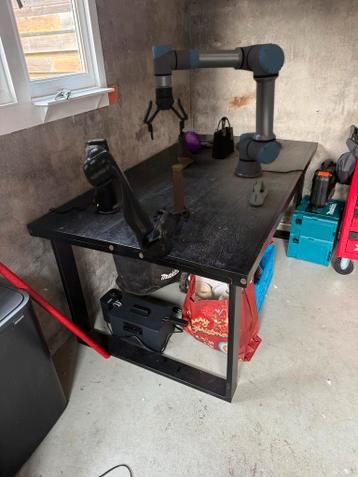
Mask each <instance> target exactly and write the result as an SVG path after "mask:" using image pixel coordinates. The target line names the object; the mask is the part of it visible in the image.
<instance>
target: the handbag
mask: <svg viewBox="0 0 358 477" xmlns="http://www.w3.org/2000/svg"><path fill="white" fill-rule="evenodd" d="M226 122H227V125H228V126H226ZM220 124H221V128H220ZM219 128H220V129H219ZM213 135H214V138H213V142H212V146H213V147H212V148H211V158H212V159H221V160H223V159H225V158H227V157H228V156H230V155H232V154H233V153H235V150H236V149H235V136H234V127H233V126H231V122H230V120H229V118H228V117H227V116H222V117H221V118H220V120H219V122H218V124H217V126H216V129H215V130H214V132H213Z"/></svg>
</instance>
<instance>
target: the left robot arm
mask: <svg viewBox="0 0 358 477" xmlns="http://www.w3.org/2000/svg"><path fill="white" fill-rule="evenodd" d="M83 155H84V163H83V164H82V173H83V176H84V178H85V180H86V181H87V182H88V184H90V185H91V186H92V187H94V192H93V197H94V198H93V200H91V202H89V203H86V204H84V206H83V207H80V206H77V205H74V206H71V207H69V208H67V209H65V210H59V209H56V208H55V207H50V208H49V211H52V210H53V211H55V212H57V213H60V214H61V213H62V214H63V213H67V212H69V211H70V210H73V209H78V210H80V211H83V210H85V209H86V208H87V207H88V206H89V205H92V207H95V208H96V212H97V213H99V214H101V215H102V214H103V215H109V214H114V213H116V212H118V211H119V209H120V208H119V203H118V197H117V192H116V185H115V184H116V183H115V180H116V181H117V183H118V185H119V187H120V191H121V202H122V203H121V206H122V208H121V209H122V214H123V219H124V221H125V223H126V224H127V226H128V227H129V229H130V230H131V231H132V233H133V234H134V237H135V238H136V242H137V244H138V246H139V249H140V253H141V255H142V257H143V259H145V261H147V262H148V263H151V264H152V263H154V264H155V263H156V262H159V261H161V260H162V259H164V258H166V257H168V256H169V255H171V254H172V252H173V250H174V244H173V238H174V235H175V234H176V232H177V229H178V227H179V223H180V222H182V221H184V222H183V223H188V221H189V219H190V217H191V212H190V210H188V208H187V207H186V205H185V206H184V207H183V210H182V211H177V212H175V211H174V212H173V211H172V212H170V211H166V210H167V207H166V205H163V206H161V208H160V209H155V210H154V213H153V215H152V216H153V221H152V220H151V219H150V217H149V215H148V214H147V213H146V211H145V210H144V208H143V206H142V205H141V203H140V201H139V199H138V198H137V195H136V193H135V191H134V189H133V188H132V185H131V183H130V182H129V180H128V178H127V176H126V174H125V173H124V171H123V169H122V167H121V165H120V163H119V162H118V160H117V159H116V158H115V156H114V155H113V154H112V153H111V150H110V144H109V141H108V140H107V139H106V138H104V137H103V138H93V139H87V140H85V141H84V143H83ZM51 208H52V209H51ZM182 213H183V214H182ZM153 222H154V223H155V222H157V224H156V226H155V225H154V223H153ZM152 232H153V234H152ZM150 234H152V239H151V240H150V238H149V235H150Z"/></svg>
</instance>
